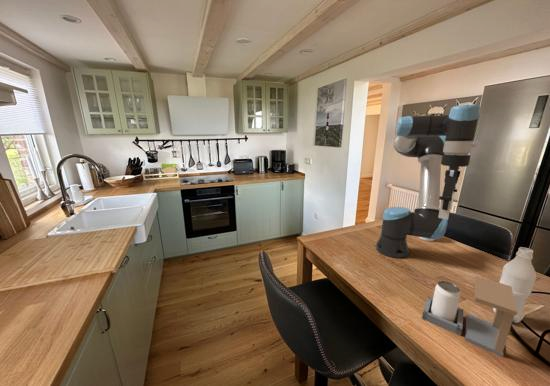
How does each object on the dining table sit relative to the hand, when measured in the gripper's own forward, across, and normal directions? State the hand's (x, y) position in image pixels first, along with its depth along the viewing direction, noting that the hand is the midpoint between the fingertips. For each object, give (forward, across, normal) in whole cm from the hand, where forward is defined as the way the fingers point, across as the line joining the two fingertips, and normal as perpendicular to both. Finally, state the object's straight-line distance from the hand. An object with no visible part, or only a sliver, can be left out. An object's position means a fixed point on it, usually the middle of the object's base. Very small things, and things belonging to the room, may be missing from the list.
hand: (445, 213), depth 80 cm
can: (+32, -15, -5) cm, 36 cm away
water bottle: (+32, -1, -21) cm, 38 cm away
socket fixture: (+32, -15, -9) cm, 36 cm away
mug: (+32, +51, +9) cm, 61 cm away
